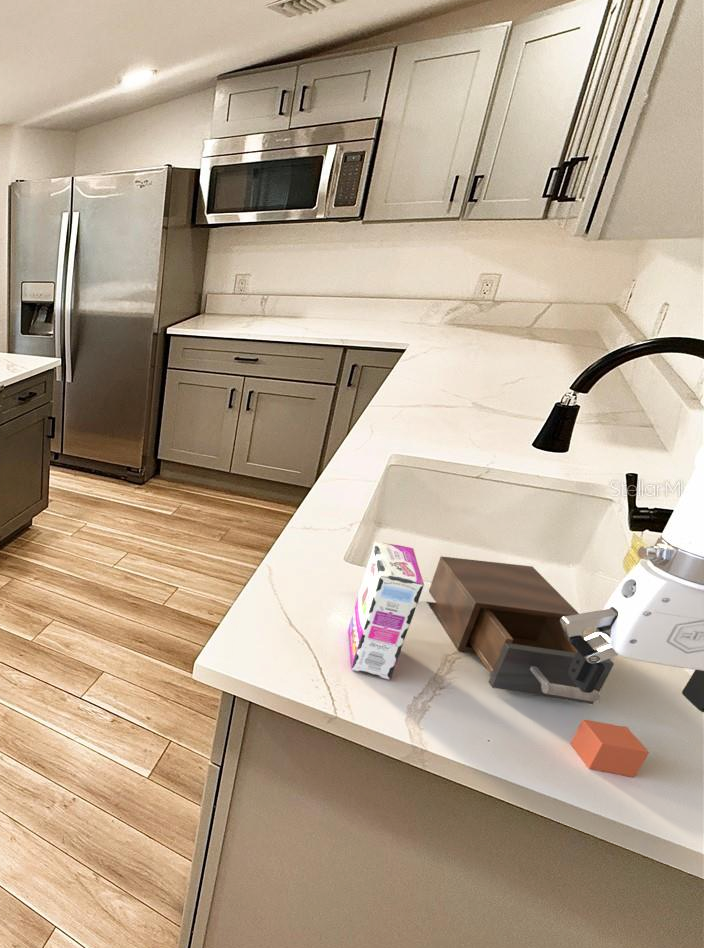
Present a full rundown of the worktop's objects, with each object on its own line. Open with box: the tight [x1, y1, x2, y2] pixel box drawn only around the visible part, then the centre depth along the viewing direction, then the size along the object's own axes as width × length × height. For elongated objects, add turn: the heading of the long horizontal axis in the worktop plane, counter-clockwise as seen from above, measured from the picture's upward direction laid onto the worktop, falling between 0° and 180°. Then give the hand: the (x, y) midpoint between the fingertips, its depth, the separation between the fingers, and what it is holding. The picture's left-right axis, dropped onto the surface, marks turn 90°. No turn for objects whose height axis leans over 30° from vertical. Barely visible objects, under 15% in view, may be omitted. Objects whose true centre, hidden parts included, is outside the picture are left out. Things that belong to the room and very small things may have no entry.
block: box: [570, 719, 650, 778], centre depth 72 cm, size 4×4×4 cm
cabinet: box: [426, 556, 580, 654], centre depth 93 cm, size 14×12×9 cm
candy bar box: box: [347, 541, 425, 681], centre depth 89 cm, size 11×5×16 cm, turn 149°
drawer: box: [468, 608, 615, 705], centre depth 83 cm, size 17×10×7 cm, turn 158°
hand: (635, 694), depth 69 cm, fingers open, 9 cm apart
